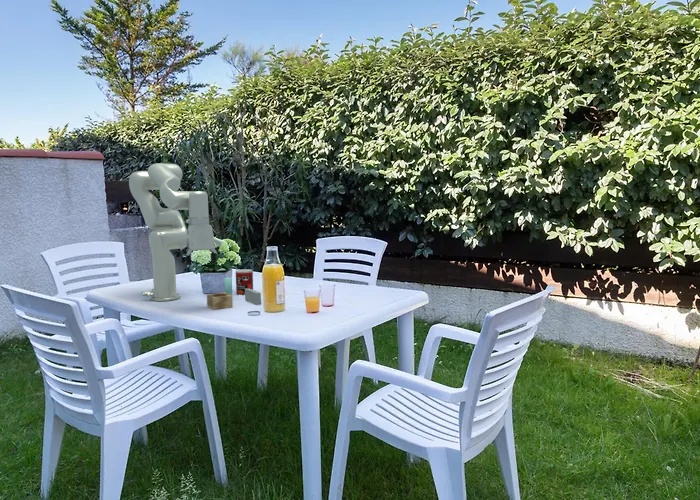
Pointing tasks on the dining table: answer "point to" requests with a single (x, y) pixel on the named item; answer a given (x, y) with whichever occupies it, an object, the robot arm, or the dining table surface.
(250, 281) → the canned food
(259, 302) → the wall
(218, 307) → the wooden open box
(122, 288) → the dining table surface
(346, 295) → the dining table surface
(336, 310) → the dining table surface
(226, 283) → the dowel
